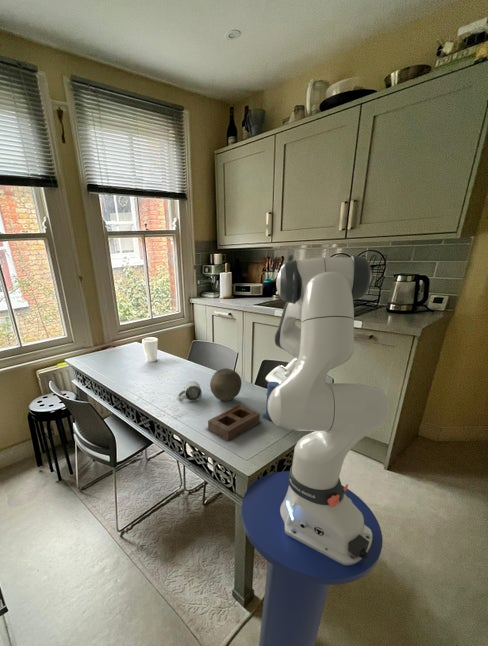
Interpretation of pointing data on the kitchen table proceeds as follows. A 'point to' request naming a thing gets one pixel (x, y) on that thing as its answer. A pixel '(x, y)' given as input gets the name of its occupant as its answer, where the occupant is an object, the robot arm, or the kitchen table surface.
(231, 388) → the cantaloupe
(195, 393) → the ceramic mug
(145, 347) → the foam cup
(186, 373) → the kitchen table surface
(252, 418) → the peg block
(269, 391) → the peg
